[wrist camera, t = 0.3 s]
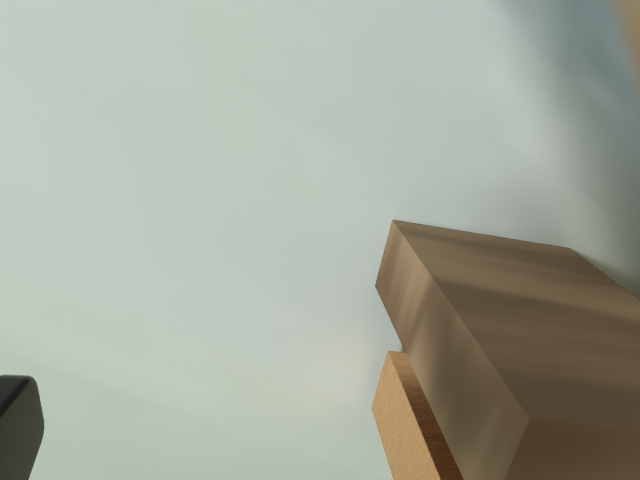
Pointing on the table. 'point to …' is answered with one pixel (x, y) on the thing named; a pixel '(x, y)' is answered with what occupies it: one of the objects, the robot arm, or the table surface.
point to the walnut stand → (518, 353)
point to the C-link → (410, 425)
